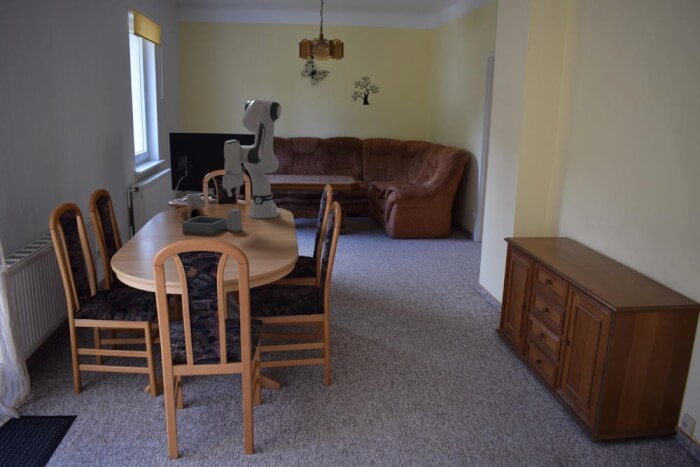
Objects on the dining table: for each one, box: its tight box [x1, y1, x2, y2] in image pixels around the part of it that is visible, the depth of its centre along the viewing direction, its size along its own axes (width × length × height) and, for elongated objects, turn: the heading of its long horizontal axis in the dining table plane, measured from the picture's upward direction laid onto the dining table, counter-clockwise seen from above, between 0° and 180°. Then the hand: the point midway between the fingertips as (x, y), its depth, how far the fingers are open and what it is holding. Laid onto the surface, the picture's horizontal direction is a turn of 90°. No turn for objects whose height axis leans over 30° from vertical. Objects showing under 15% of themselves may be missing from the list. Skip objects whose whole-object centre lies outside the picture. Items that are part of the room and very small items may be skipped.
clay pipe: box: [180, 206, 205, 222], centre depth 335 cm, size 19×11×15 cm
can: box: [227, 208, 243, 233], centre depth 311 cm, size 8×8×12 cm
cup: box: [186, 193, 206, 209], centre depth 359 cm, size 10×9×12 cm
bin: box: [181, 215, 228, 236], centre depth 311 cm, size 18×18×6 cm
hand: (233, 195), depth 307 cm, fingers open, 8 cm apart
